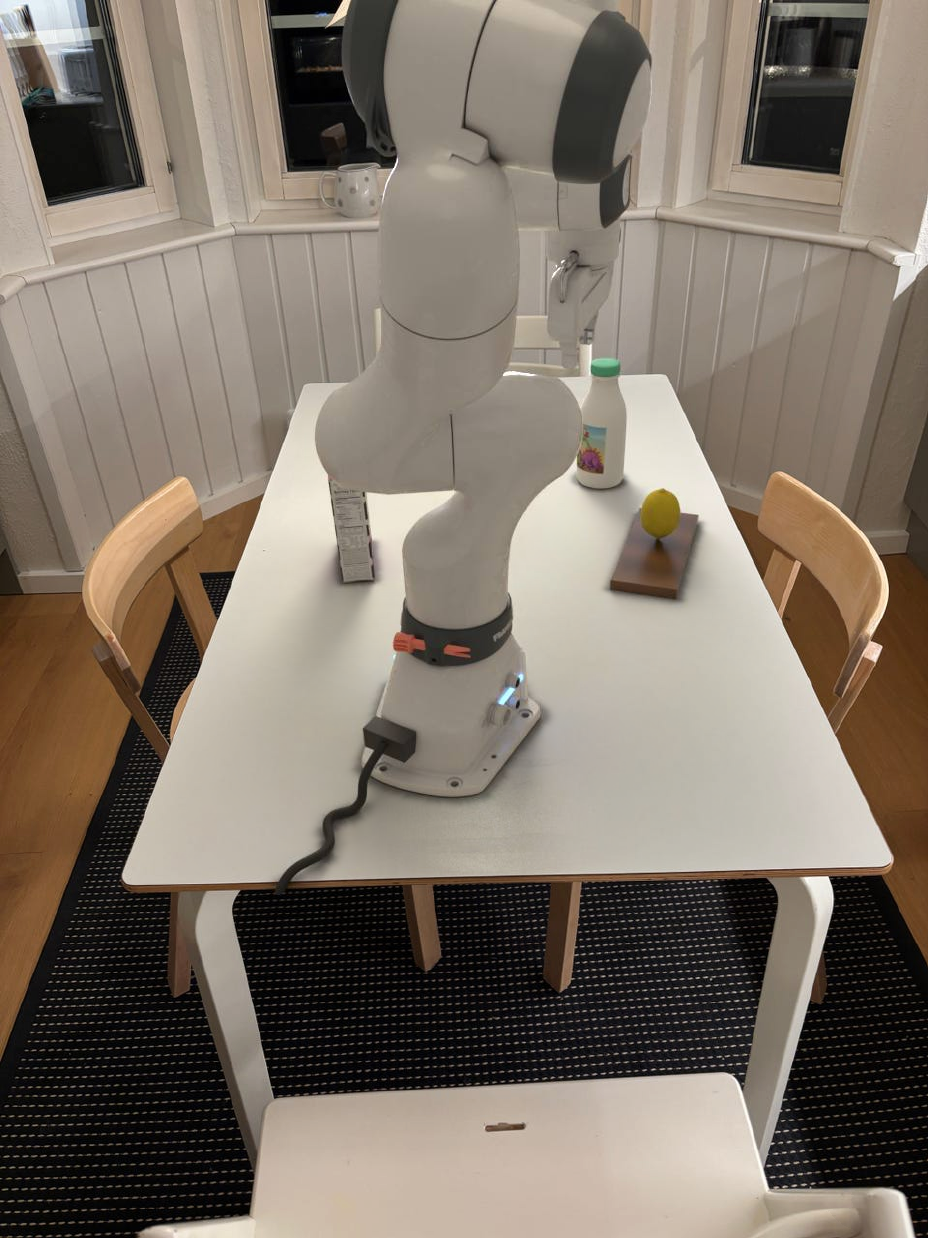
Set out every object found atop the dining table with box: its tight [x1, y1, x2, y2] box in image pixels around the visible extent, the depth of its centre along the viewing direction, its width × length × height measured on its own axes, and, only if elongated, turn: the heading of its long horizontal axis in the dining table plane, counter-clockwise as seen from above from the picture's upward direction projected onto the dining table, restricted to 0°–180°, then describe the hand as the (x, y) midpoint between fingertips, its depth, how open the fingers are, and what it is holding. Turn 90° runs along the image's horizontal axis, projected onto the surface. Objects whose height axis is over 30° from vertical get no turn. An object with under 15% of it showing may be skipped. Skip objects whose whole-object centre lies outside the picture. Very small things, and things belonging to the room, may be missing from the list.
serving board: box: [609, 507, 699, 600], centre depth 137 cm, size 22×9×2 cm, turn 161°
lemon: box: [640, 487, 681, 539], centre depth 136 cm, size 6×6×8 cm
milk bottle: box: [575, 357, 628, 489], centre depth 153 cm, size 8×8×20 cm
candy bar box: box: [327, 474, 376, 584], centre depth 134 cm, size 11×5×16 cm, turn 7°
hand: (578, 354), depth 123 cm, fingers open, 8 cm apart
